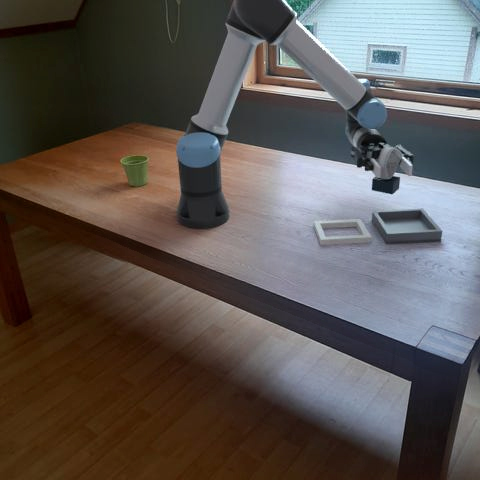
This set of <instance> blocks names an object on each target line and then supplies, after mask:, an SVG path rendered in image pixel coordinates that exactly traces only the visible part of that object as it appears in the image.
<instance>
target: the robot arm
mask: <svg viewBox="0 0 480 480" xmlns="http://www.w3.org/2000/svg"><path fill="white" fill-rule="evenodd" d="M225 26H226V29H227V35H226V37H225V41H224V43H223V46H222V49H221V52H220V54H219V57H218V60H217V62H216V64H215V68H214V71H213V74H212V76H211V80H210V82H209V83H208V87H207V89H206V92H205V95H204V98H203V100H202V103H201V106H200V108H199V112H198V113H197V114H195V115H193V116H191V118H190V121H189V123H188V126H187V129H186V132H185V133H184V135H183V136H181V137H180V138H179V139H178V141H177V143H176V150H175V151H176V152H175V154H176V157H177V165H178V175H179V187H180V197H179V201H178V205H177V208H176V209H177V210H176V219H177V222H178V223H179V224H180V225H182V226H184V227H187V228H192V229H208V228H213V227H217V226H220V225H222V224H224V223H225V222H227V221H229V219H230V208H229V205H228V202H227V200H226V197H225V194H224V193H223V186H222V185H223V184H222V168H221V152H222V151H223V150H222V149H223V147H224V144H225V143H226V140H227V137H228V134H229V129H228V127H227V123H228V120H229V118H230V115H231V113H232V111H233V108H234V105H235V102H236V100H237V98H238V96H239V92H240V90H241V88H242V85H243V82H244V81H245V78H246V75H247V72H248V70H249V67H250V65H251V63H252V59H253V57H254V56H255V52H256V50H257V47H258V46H259V45H260V44H262V43H264V42H267V44H269V45H270V46H277V47H278V48H279V49H280V50H281V51H282V52H283V53H285V54H286V55H287V56H288V57H289V58H290V59H291V60H292V61H293V62H294V63H295V64H296V65H297V66H298V67H300V68H301V69H302V70H303V71H304V72H305V73H306V74H307V75H308V76H309V77H310V78H311V79H312V80H313V81H315V83H316V84H318V85H319V86H320V87H321V88H322V89H323V90H324V91H325V92H326V93H327V94H328V95H329V96H331V97H332V99H334V101H335V102H337V104H339V105H340V106H341V107H342V108H343V109H344V110H345V116H346V126H345V128H344V129H345V130H344V132H345V135H346V136H345V137H346V138H347V139H348V142H350V144H352V147H351V148H350V150H351V151H350V157H351V158H353V160H354V163H355V165H356V167H357V168H359V169H361V168H362V167H364V171H365V172H372V174H373V175H374V177H375V176H376V177H377V178H380V173H381V166H380V165H379V164H378V161H376V160H379V156H380V153H381V151H382V149H383V148H384V147H392V145H389V144H388V143H387V141H386V139H385V137H384V136H383V135H382V134H381V133H380V132H379V131H378V130H376V129H379V128H381V126H383V125H384V123H385V122H386V120H387V117H388V110H387V108H386V106H385V104H384V102H382V101H381V100H379V99H378V98H377V97H376V96H375V94H373V93H372V88H371V84H370V80H368V79H366V78H357V77H356V76H355V75H354V74H353V73H352V72H351V71H350V70H349V69H348V68H346V66H344V64H343V63H342V62H340V61H339V60H338V58H337V57H335V55H333V54H332V53H331V51H329V49H327V48H326V47H325V45H324V44H322V43H321V42H320V40H318V39H317V37H315V36H314V35H313V34H312V33H311V32H310V30H308V29H307V28H306V27H305V26H304V25H303V24H302V23H301V22H300V21H299V20H298V13H297V12H296V11H295V10H294V9H293V8H292V7H291V6H290V5H289V4H288V2H287V1H286V0H233V1H232V4H231V7H230V11H229V12H228V15H227V18H226V20H225ZM394 147H395V148H397V149H398V150H400V152H401V153H402V158H401V160H400V162H399V165H400V166H399V165H398V166H399V167H400V169H401V170H402V171H403V172H404V173H405V174H406V175H407V176H408V177H412V175H413V167H414V166H413V165H414V159H415V158H414V157H415V155H414V154H413V153H411V152H410V151H408V150H407V149H406V148H404V147H403V146H402V145H401V144H397V145H395V146H394Z"/></svg>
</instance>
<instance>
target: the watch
mask: <svg viewBox="0 0 480 480" xmlns="http://www.w3.org/2000/svg"><path fill="white" fill-rule="evenodd" d="M401 158H402V153H401V152H400V150H398V149H397V148H395V146H391V147H384V148H383V149H382V151H381V153H380V156H379V159H377V160H378V161H377V163H378V164H379V165H380V166H381V173H380V178H377V177H376V176H375V175H374V177H373V178H372V180H371V181H372V182H371V191H374V192H379V193H383V194H389V195H394V194H395V193H396V192H397V191H399V189H400V183H401V177H400V176H396V175H395V173H396V170H397V168H398V166H399V162H400V160H401Z"/></svg>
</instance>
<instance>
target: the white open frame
mask: <svg viewBox="0 0 480 480" xmlns="http://www.w3.org/2000/svg"><path fill="white" fill-rule="evenodd" d="M350 227H351V228H353V227H356V229H357V230H358V232H359V235H357V234H356V235H336V236H335V235H334V236H326V234H325V232H324V230H323V229H335V228H350ZM313 229H314V230H315V234H316V237H317V239H318V242H319V244H320V246H327V245H329V246H330V245H346V244H347V245H348V244H364V243H372V236H371V234H370V232H369V230H368V229H367V226H366V225H365V223H364V221H363V220H362V218H353V219H352V218H350V219H332V220H330V219H329V220H314V221H313Z"/></svg>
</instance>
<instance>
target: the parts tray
mask: <svg viewBox="0 0 480 480" xmlns="http://www.w3.org/2000/svg"><path fill="white" fill-rule="evenodd" d="M371 213H372V214H371V222H372V224H373V225H374V227H375V228H376V230H377V232H378V233H379V235H380V237H381V238H382V240H383V242H384V243H385V245H400V244H419V243H423V244H424V243H436V242H437V243H439V242H440V243H441V242H442V236H443V230H442V229H441V228H440V226H439V225H438V224H437V223H436V222H435V221H434V220H433V218H432V217H431V216H430V215H429V214H428V212H427V211H426V210H424V208H405V209H404V208H403V209H389V210H387V209H385V210H384V209H383V210H372V212H371Z"/></svg>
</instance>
